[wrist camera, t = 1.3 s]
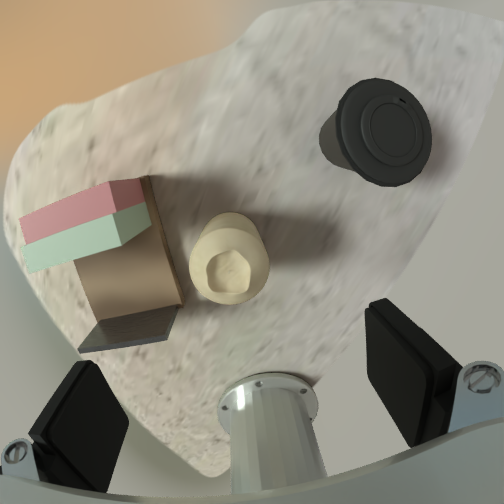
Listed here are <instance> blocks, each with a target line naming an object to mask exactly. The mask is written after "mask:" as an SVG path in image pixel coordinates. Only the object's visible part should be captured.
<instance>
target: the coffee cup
mask: <svg viewBox="0 0 504 504" xmlns="http://www.w3.org/2000/svg"><path fill="white" fill-rule="evenodd" d="M319 144H320V147H321V150H322V153H323V154H324V155H325V157H326V158H327V160H329V161H330V162H331V163H333V164H334V165H336V166H339V167H342V168H345V169H348V170H352V171H355V172H357V173H358V174H359V175H360V176H361V177H363V178H364V179H365V180H366V181H369V182H371V183H374V184H376V185H379V186H383V187H397V186H400V185H403V184H406V183H409V182H410V181H412V180H413V179H414V178H415V177H416V176H417V175H419V174H420V173H421V171H422V169H423V168H424V166H425V165H426V163H427V161H428V158H429V155H430V152H431V145H432V134H431V127H430V123H429V120H428V117H427V115H426V112H425V111H424V109H423V107H422V105H421V104H420V103H419V101H418V100H417V99H416V98H415V97H414V95H413V94H411V93H410V92H409V91H408V90H407V89H405V88H404V87H402V86H400V85H398V84H396V83H394V82H392V81H390V80H385V79H379V78H372V79H366V80H361V81H359V82H358V83H356V84H355V85H353V86H352V87H350V88H348V90H347V91H346V93H345V94H344V95H343V97H342V98H341V100H340V101H339V104H338V108H337V110H336V111H335V112H334V113H333V114H332V115H331V116H330V117H329V118H328V120H327V121H326V122H325V123H324V125H323V126H322V128H321V131H320V134H319Z"/></svg>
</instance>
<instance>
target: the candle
mask: <svg viewBox="0 0 504 504" xmlns="http://www.w3.org/2000/svg"><path fill="white" fill-rule="evenodd" d="M269 269H270V264H269V257H268V254H267V251H266V249H265V247H264V244H263V242H262V239H261V237H260V235H259V232H258V230H257V228H256V226H255V225H254V224H253V222H252V221H251V220H250V219H248V218H247V217H246V216H244V215H242V214H239V213H234V212H227V213H222V214H219V215H217V216H215V217H213V218H212V219H211V220H210V221H209V222H208V223H207V224H206V226H205V227H204V229H203V231H202V233H201V235H200V237H199V239H198V241H197V243H196V244H195V246H194V248H193V251H192V253H191V256H190V261H189V271H190V276H191V279H192V281H193V284H194V285H195V287H196V288H197V290H198V291H199V292H200V293H201V294H202V295H203V296H205V297H206V298H208V299H209V300H211V301H214V302H216V303H220V304H225V305H233V304H239V303H243V302H246V301H248V300H250V299H251V298H253V297H254V296H256V295H257V294H258V293H259V292H260V291H261V290H262V288H263V287H264V285H265V283H266V281H267V279H268V276H269Z"/></svg>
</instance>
